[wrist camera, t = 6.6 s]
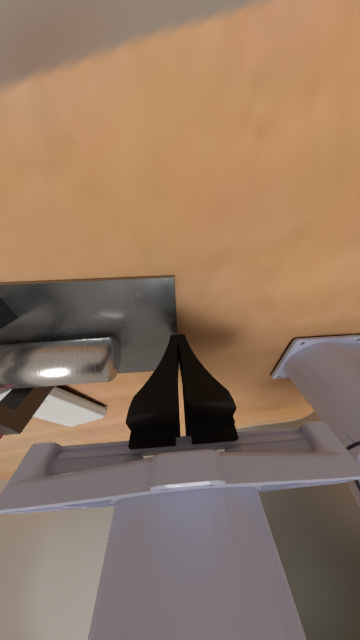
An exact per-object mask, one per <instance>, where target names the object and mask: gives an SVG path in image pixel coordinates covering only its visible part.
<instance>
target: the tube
mask: <svg viewBox="0 0 360 640" xmlns="http://www.w3.org/2000/svg"><path fill="white" fill-rule="evenodd" d="M120 362H121V350H120V345H119V343H118V341H117V340H116V339H115V338H114V337H106V338H92V339H77V340H62V341H48V342H33V343H18V344H4V345H0V390H5V389H18V388H31V387H44V386H57V385H70V384H83V383H96V382H109V381H112V380H113V379H114V378H115V377H116V375H117V373H118V371H119V367H120Z"/></svg>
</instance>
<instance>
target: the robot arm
mask: <svg viewBox="0 0 360 640" xmlns="http://www.w3.org/2000/svg"><path fill="white" fill-rule="evenodd" d="M178 364H180V370H181V377H182V384H183V398H184V413H185V428H186V436H184V437H180V420H179V399H178ZM271 377H272V378H273V379H279V378H289V379H290V380H291V381H292V382H293V384H294V385H295V386H296V388H297V389H298V390H299V391H300V393H301V394H302V395H303V396H304V398H305V399H306V400H307V402H308V403H309V404H310V405H311V407H312V408H313V409H314V410H315V412H316V413H317V414H318V416H319V417H320V418H321V419H322V421H316V422H306V423H303V424H301V425H300V427H295V428H283V429H271V430H258V431H246V432H237V431H236V428H235V425H234V424H235V421H234V418H233V414H234V412H235V410H236V405H235V403H234V400H233V398H232V396H231V395H230V393H229V391H228V390H227V389H226V388H225V387H223V386H222V385H221V384H220V383H219V382H218V381H217V380H216V379H215V378H214V377H213V376H212V375H211V374H210V373H209V372H208V371H207V370H206V369H205V368H204V367H203V365H202V364H201V363H200V362H199V360H198V359H197V357H196V356H195V354H194V353H193V351H192V350H191V348H190V346H189V344H188V342H187V340H186V337H185V335H184V334H179V335H171V336H170V339H169V343H168V346H167V348H166V351H165V353H164V355H163V357H162V359H161V361H160V363H159V365H158V366H157V368H156V370H155V371H154V373H153V374H152V375H151V377H150V378H149V380H148V381H147V382H146V383H145V385H144V386H143V387H142V388H141V389H140V391H139V392H138V393H137V394H136V395H135V396H134V398H133V400H132V402H131V404H130V407H129V410H128V414H127V419H126V424H127V426H128V427H129V429H130V430H131V435H130V440H129V441H122V442H109V443H97V444H84V445H72V446H61V445H59V444H57V443H38V444H33V445H32V446H31V448H30V449H29V451H28V452H27V454H26V456H25V457H24V459H23V460H22V462H21V463H20V465H19V467H18V468H17V470H16V471H15V473H14V474H13V476H12V477H11V479H10V481H9V482H8V484H7V485H6V487H5V489H4V490H3V492H2V493H1V495H0V514H1V513H34V512H45V511H56V510H68V509H81V508H93V507H106V506H115V507H114V512H113V517H112V522H111V528H110V532H109V538H108V542H107V547H106V552H105V557H104V562H103V567H102V572H101V577H100V582H99V587H98V592H97V597H96V602H95V607H94V612H93V617H92V622H91V626H90V631H89V636H88V640H306V637H305V634H304V631H303V628H302V625H301V622H300V619H299V616H298V613H297V610H296V607H295V604H294V601H293V597H292V594H291V591H290V588H289V585H288V582H287V579H286V576H285V573H284V570H283V567H282V564H281V561H280V558H279V555H278V552H277V549H276V546H275V543H274V540H273V537H272V534H271V531H270V527H269V524H268V522H267V518H266V515H265V512H264V509H263V506H262V503H261V500H260V497H259V494H258V492H263V491H272V490H281V489H290V488H299V487H307V486H317V485H327V484H337V483H342V482H349V484H350V487H351V490H352V493H353V495H354V497H355V499H356V501H357V503H358V505H359V506H360V335H346V336H330V337H313V338H297V339H295V340H293V341H292V343H291V345H290V346H289V348H288V349H287V351H286V353H285V354H284V356H283V357H282V359H281V361H280V362H279V364H278V365H277V367H276V369H275V370H274V372H273V373H272V375H271ZM218 449H225V452H218V451H217V450H218ZM347 450H348V451H347ZM148 455H154V457H151V458H145V459H144V458H143V456H148Z"/></svg>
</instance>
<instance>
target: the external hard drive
mask: <svg viewBox="0 0 360 640" xmlns="http://www.w3.org/2000/svg"><path fill="white" fill-rule="evenodd" d="M11 390H12V389H5V390H0V401H1V400H2V399H3V398H4V397H5V396H6V395H7V394H8V393H9V392H10V391H11ZM106 410H107V408H105V407H103V406H100V405H98V404H96V403H93V402H91V401H89V400H86V399H84V398H82V397H79V396H77V395H75V394H72V393H70V392H68V391H65V390H63V389H61V388H58V387H56V386H54V388H53V389H52V391H51V392H50V393H49V395H48V396H47V397H46V399H45V400H44V401H43V403H42V404H41V406H40V407H39V408H38V410H37V411H36V412H35V414H34V415H33V417H35V418H39V419H43V420H47V421H50V422H54V423H57V424H61V425H65V426H68V427H74V426H77V425H80V424H84V423H87V422H91V421H94V420H98V419H101V418H103V417H104V416H105V413H106Z"/></svg>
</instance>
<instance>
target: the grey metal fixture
mask: <svg viewBox="0 0 360 640" xmlns="http://www.w3.org/2000/svg"><path fill="white" fill-rule="evenodd" d="M171 335H177V324H176V303H175V283H174V275H170V276H147V277H123V278H99V279H76V280H52V281H28V282H5V283H0V345H4V344H18V343H33V342H48V341H62V340H77V339H92V338H106V337H114V338H115V339H116V340H117V341H118V343H119V345H120V350H121V362H120V367H119V371H118V373H130V372H145V371H155V370H156V368H157V366H158V365H159V363H160V361H161V359H162V357H163V355H164V353H165V351H166V348H167V346H168V343H169V339H170V336H171ZM178 369H179V364H178ZM53 388H54V386H44V387H31V388H18V389H12V390H11V391H10V392H9V393H8V394H7V395H6V396H5V397H4V398H3V399H2V400H1V401H0V435H8V434H20V433H21V432H22V430H23V429H24V428H25V426H26V425H27V423H28V422H29V421H30V419H31V418H32V417H33V415H34V414H35V412H36V411H37V410H38V408H39V407H40V406H41V404H42V403H43V401H44V400H45V399H46V397H47V396H48V395H49V393H50V392H51V391H52V389H53Z"/></svg>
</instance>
